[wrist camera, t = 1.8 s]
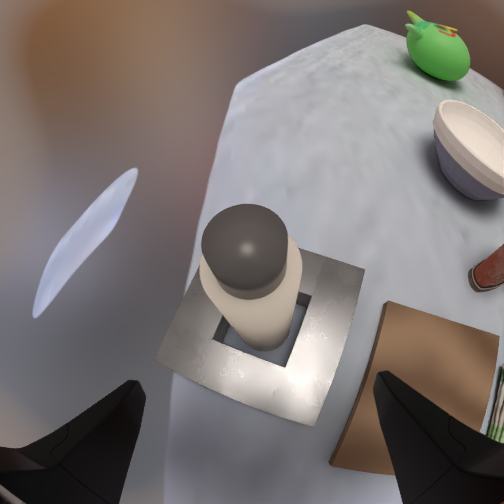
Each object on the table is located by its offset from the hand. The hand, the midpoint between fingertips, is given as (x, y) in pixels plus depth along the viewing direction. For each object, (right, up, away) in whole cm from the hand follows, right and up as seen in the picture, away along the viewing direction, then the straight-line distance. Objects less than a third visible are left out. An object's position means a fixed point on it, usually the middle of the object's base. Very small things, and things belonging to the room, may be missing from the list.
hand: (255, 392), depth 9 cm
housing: (+1, -1, +12) cm, 12 cm away
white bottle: (+1, -1, +12) cm, 12 cm away
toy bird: (+41, +47, +33) cm, 70 cm away
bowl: (+28, +15, +18) cm, 37 cm away
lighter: (+26, +2, +12) cm, 28 cm away
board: (+15, -7, +8) cm, 18 cm away
